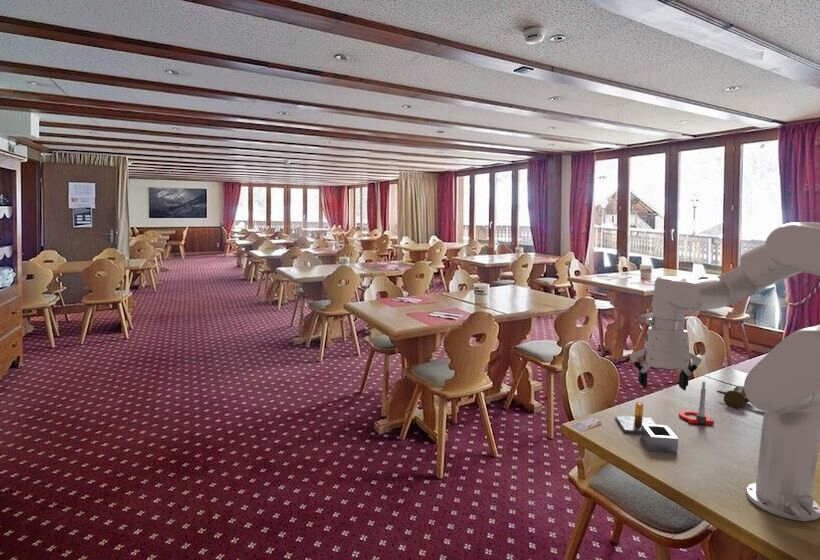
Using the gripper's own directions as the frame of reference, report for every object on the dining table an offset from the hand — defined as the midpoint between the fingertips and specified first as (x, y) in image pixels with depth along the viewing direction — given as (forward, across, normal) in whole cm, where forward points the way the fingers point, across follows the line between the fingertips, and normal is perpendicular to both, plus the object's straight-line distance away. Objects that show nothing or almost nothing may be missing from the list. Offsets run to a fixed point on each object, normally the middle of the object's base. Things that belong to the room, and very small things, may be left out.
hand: (662, 387), depth 127 cm
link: (+16, 0, 0) cm, 16 cm away
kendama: (+17, +38, +32) cm, 53 cm away
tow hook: (+16, +17, +20) cm, 31 cm away
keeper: (+16, -2, +11) cm, 20 cm away
